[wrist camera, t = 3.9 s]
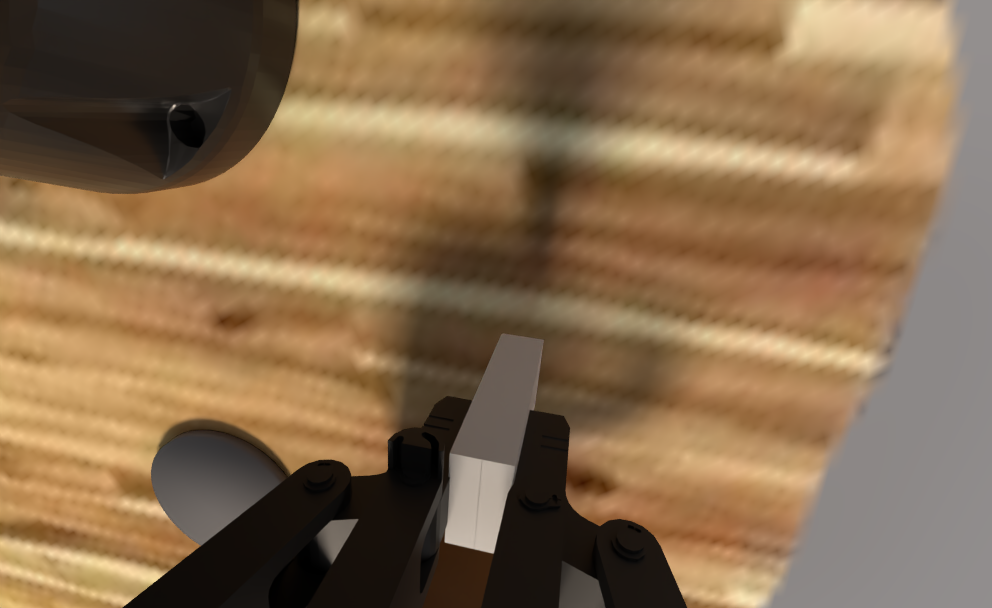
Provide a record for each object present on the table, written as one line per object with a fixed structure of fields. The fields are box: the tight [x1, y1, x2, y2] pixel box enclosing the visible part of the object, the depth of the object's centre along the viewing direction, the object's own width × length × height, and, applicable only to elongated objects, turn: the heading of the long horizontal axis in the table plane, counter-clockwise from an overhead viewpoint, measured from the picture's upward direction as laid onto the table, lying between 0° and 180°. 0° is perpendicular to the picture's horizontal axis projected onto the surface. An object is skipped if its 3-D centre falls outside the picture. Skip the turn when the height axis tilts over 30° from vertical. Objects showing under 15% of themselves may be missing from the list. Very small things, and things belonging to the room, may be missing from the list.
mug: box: [422, 531, 493, 608], centre depth 19 cm, size 12×8×9 cm, turn 92°
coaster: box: [151, 430, 287, 545], centre depth 27 cm, size 9×9×1 cm
